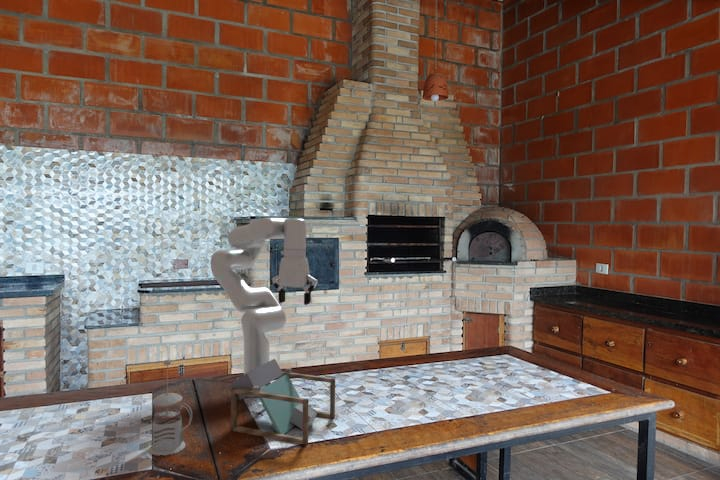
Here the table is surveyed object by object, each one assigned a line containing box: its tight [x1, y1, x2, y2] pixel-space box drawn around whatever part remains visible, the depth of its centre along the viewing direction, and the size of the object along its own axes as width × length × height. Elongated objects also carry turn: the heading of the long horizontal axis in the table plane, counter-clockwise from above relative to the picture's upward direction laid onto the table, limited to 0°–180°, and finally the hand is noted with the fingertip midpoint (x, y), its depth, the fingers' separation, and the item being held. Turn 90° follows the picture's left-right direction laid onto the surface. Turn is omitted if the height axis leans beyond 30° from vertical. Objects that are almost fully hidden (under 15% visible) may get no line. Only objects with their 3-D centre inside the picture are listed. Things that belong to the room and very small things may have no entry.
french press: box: [148, 359, 193, 456], centre depth 135 cm, size 10×12×25 cm
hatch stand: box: [230, 367, 336, 446], centre depth 152 cm, size 26×21×14 cm
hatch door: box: [230, 358, 301, 435], centre depth 154 cm, size 22×18×8 cm
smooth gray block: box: [289, 403, 319, 431], centre depth 150 cm, size 5×5×6 cm
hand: (294, 303), depth 166 cm, fingers open, 9 cm apart
